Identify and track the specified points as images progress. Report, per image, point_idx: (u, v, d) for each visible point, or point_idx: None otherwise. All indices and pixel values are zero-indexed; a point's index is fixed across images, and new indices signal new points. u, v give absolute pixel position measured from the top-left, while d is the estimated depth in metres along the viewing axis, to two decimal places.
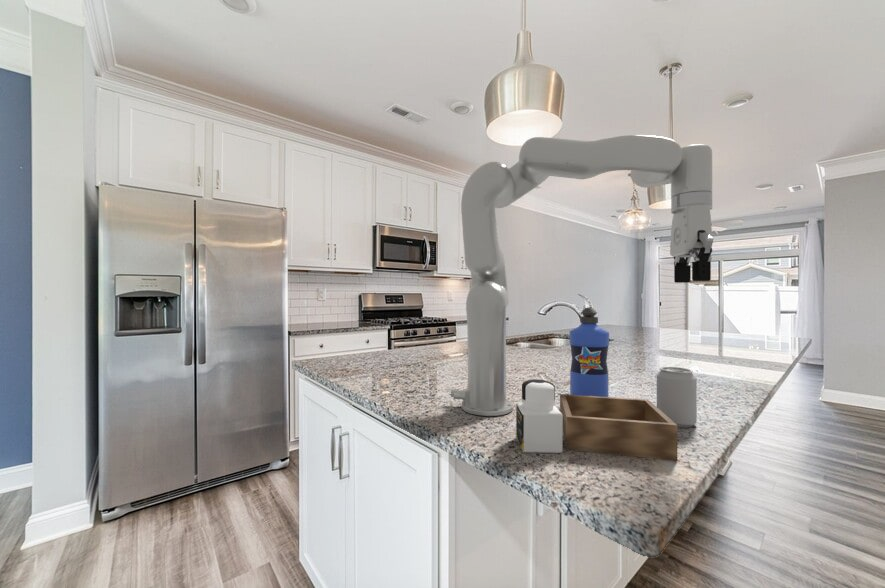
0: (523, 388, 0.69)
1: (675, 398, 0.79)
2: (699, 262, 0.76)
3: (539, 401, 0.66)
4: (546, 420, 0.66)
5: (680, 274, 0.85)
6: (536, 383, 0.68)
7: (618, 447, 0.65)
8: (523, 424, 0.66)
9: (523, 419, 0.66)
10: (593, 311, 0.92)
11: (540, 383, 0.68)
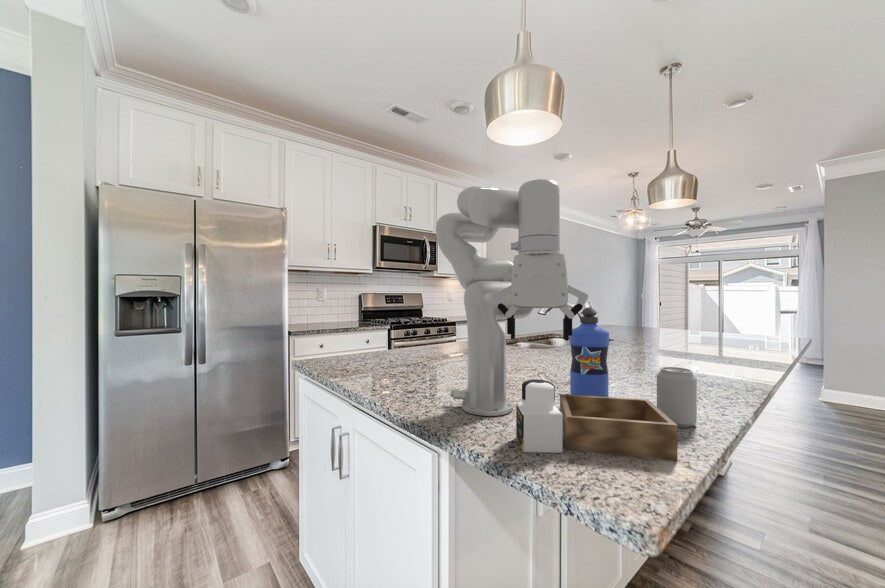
0: (523, 388, 0.69)
1: (675, 398, 0.79)
2: (571, 319, 0.67)
3: (539, 401, 0.66)
4: (546, 420, 0.66)
5: None
6: (536, 383, 0.68)
7: (618, 447, 0.65)
8: (523, 424, 0.66)
9: (523, 419, 0.66)
10: (593, 311, 0.92)
11: (540, 383, 0.68)
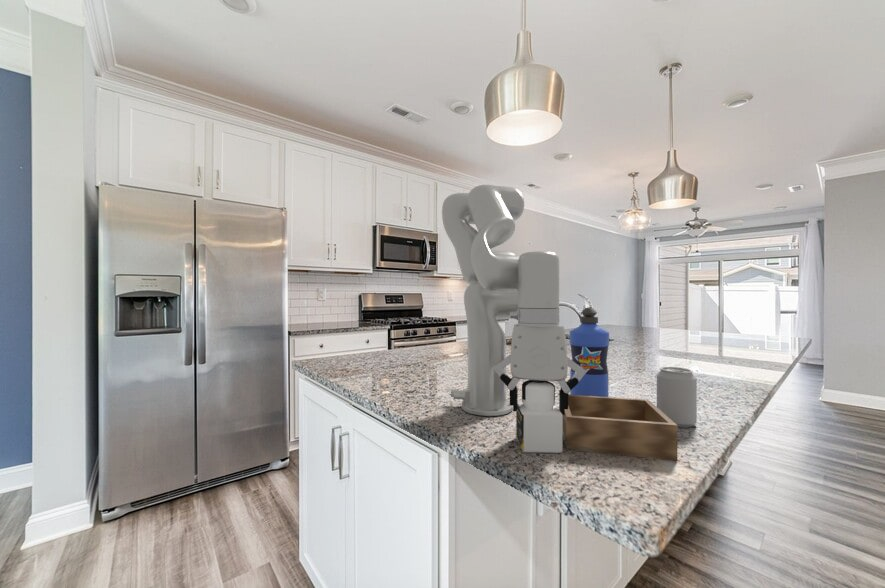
0: (523, 388, 0.69)
1: (675, 398, 0.79)
2: (567, 393, 0.67)
3: (539, 401, 0.66)
4: (546, 420, 0.66)
5: None
6: (536, 383, 0.68)
7: (618, 447, 0.65)
8: (523, 424, 0.66)
9: (523, 419, 0.66)
10: (593, 311, 0.92)
11: (540, 383, 0.68)
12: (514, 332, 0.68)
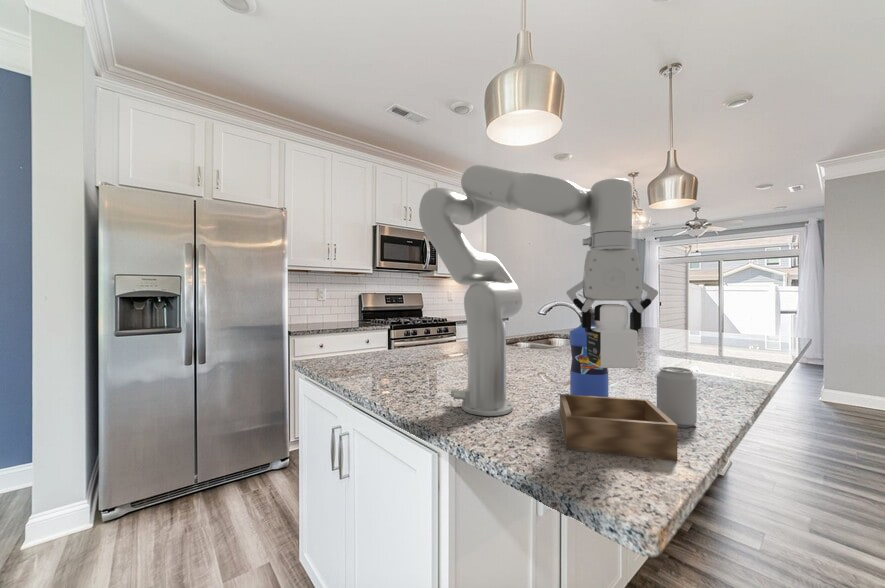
0: (597, 310, 0.72)
1: (675, 398, 0.79)
2: (640, 313, 0.71)
3: (615, 319, 0.70)
4: (622, 337, 0.69)
5: None
6: (610, 304, 0.71)
7: (618, 447, 0.65)
8: (600, 341, 0.69)
9: (600, 336, 0.69)
10: (593, 311, 0.92)
11: (614, 304, 0.71)
12: (589, 256, 0.72)
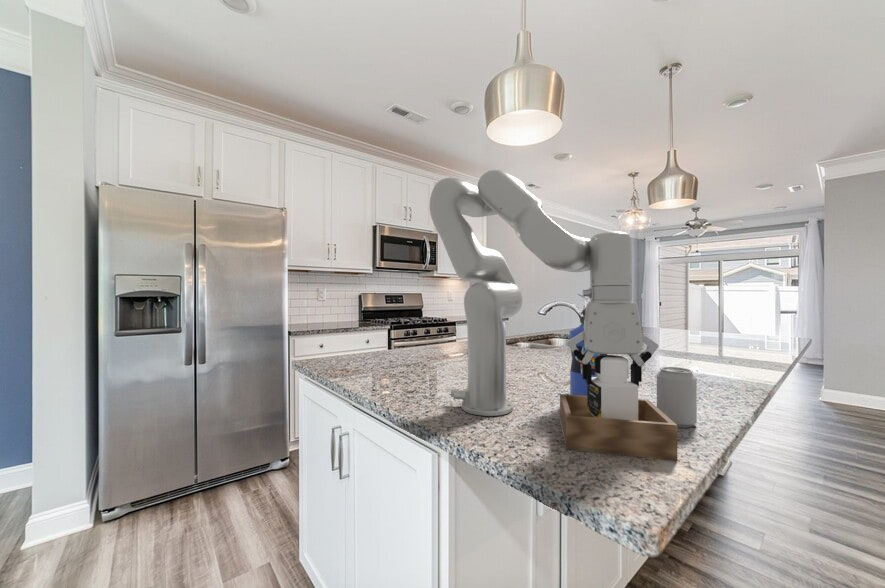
0: (597, 362, 0.72)
1: (675, 398, 0.79)
2: (640, 366, 0.71)
3: (615, 373, 0.70)
4: (623, 391, 0.69)
5: None
6: (610, 357, 0.71)
7: (618, 447, 0.65)
8: (600, 395, 0.69)
9: (600, 391, 0.69)
10: None
11: (614, 357, 0.71)
12: (589, 309, 0.72)
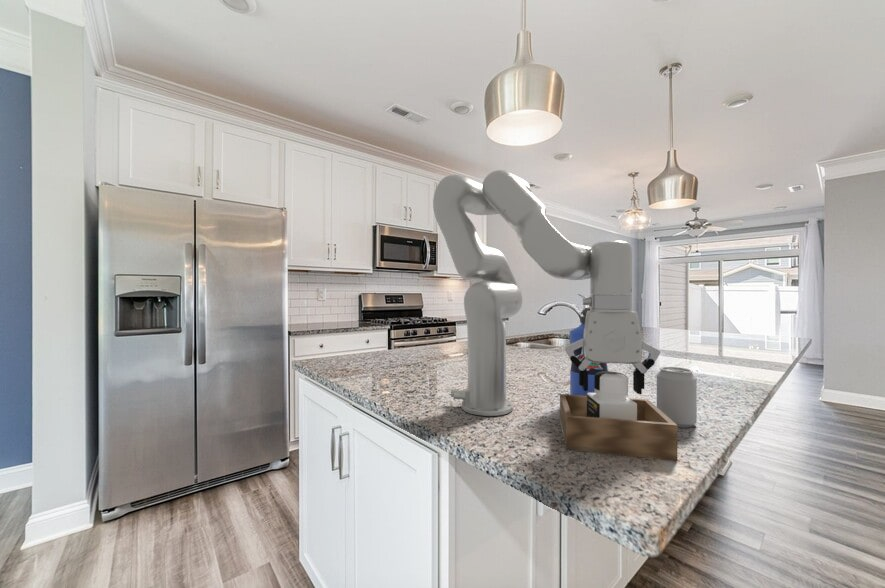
0: (597, 379, 0.72)
1: (675, 398, 0.79)
2: (643, 374, 0.71)
3: (614, 391, 0.70)
4: (622, 409, 0.69)
5: None
6: (610, 374, 0.71)
7: (618, 447, 0.65)
8: (599, 412, 0.69)
9: (599, 408, 0.70)
10: None
11: (614, 374, 0.71)
12: (589, 318, 0.72)
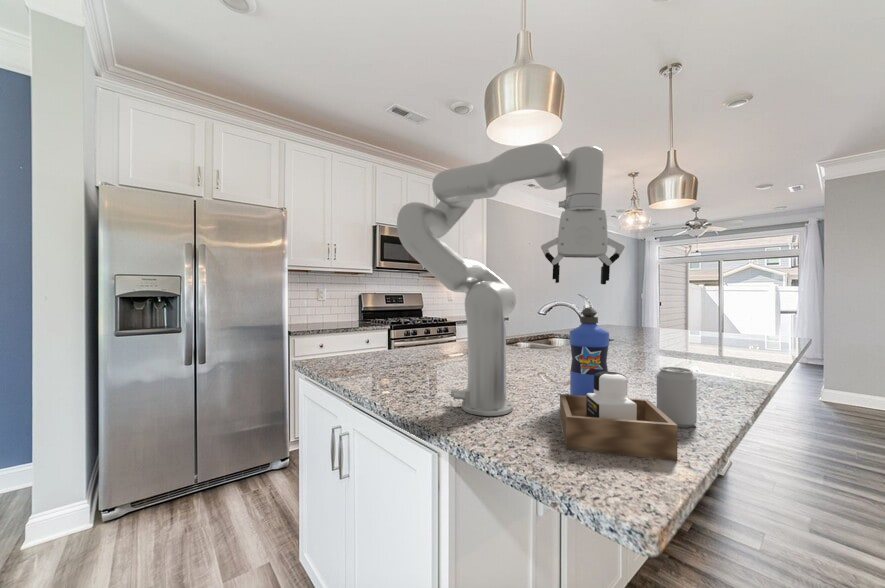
0: (596, 379, 0.72)
1: (675, 398, 0.79)
2: (609, 266, 0.79)
3: (613, 391, 0.70)
4: (621, 409, 0.69)
5: None
6: (609, 374, 0.71)
7: (618, 447, 0.65)
8: (598, 413, 0.69)
9: (598, 408, 0.69)
10: (593, 311, 0.92)
11: (613, 374, 0.71)
12: (562, 216, 0.81)
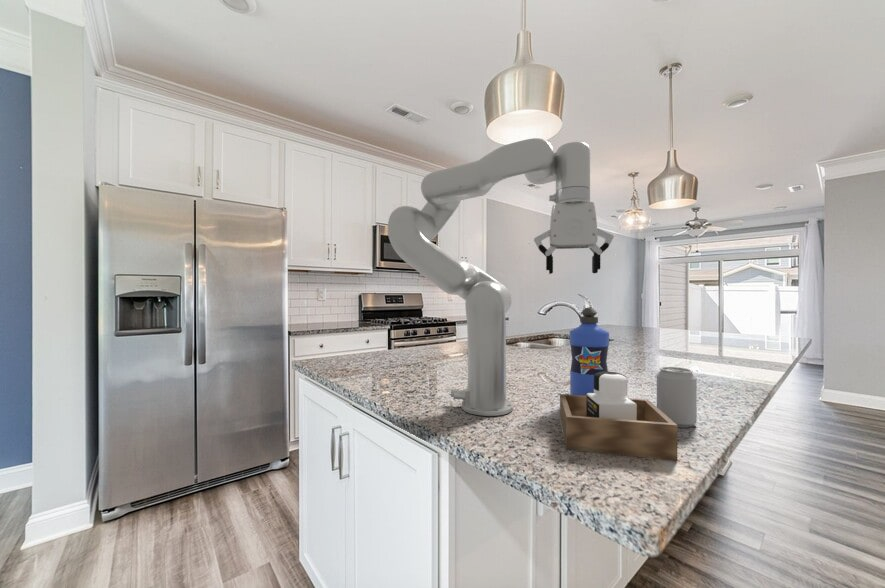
0: (596, 379, 0.72)
1: (675, 398, 0.79)
2: (599, 256, 0.83)
3: (613, 391, 0.70)
4: (621, 409, 0.69)
5: None
6: (609, 374, 0.71)
7: (618, 447, 0.65)
8: (598, 413, 0.69)
9: (598, 408, 0.69)
10: (593, 311, 0.92)
11: (613, 374, 0.71)
12: (553, 209, 0.84)
